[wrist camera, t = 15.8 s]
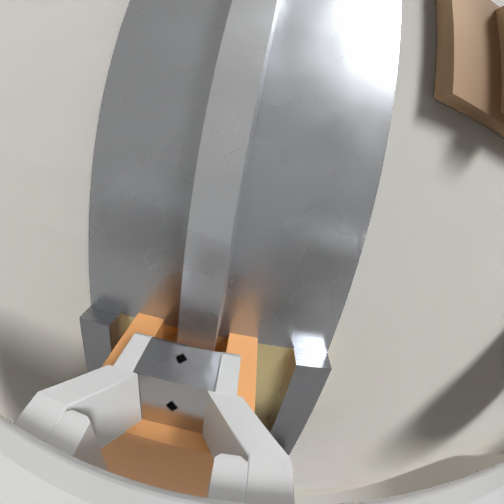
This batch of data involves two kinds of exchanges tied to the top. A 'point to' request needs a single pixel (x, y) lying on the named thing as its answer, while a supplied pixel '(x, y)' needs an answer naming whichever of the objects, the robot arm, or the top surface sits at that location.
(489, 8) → the pad
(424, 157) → the top surface
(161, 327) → the orange notched block
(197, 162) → the rail
